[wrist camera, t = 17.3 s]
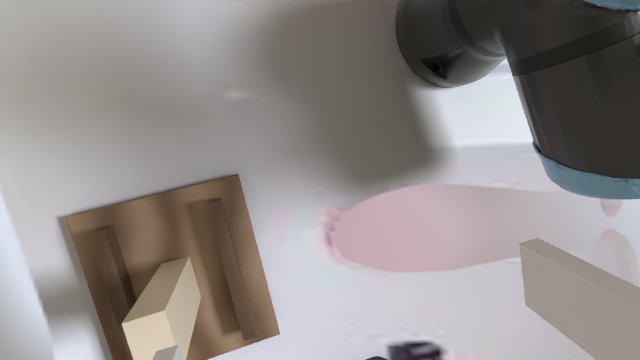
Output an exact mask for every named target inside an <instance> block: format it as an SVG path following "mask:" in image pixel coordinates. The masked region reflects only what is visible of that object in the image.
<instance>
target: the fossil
mask: <svg viewBox="0 0 640 360" xmlns="http://www.w3.org/2000/svg"><path fill="white" fill-rule="evenodd" d="M366 360H387V359H385V358H382V357H377V356H376V357H372V358H369V359H366Z"/></svg>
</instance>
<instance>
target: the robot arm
mask: <svg viewBox="0 0 640 360" xmlns="http://www.w3.org/2000/svg"><path fill="white" fill-rule="evenodd" d="M396 31H397V39H398V43H399V46H400V49H401V52H402V54H403V56H404V58H405V60H406V62H407V63H408V65H409V66H410V67H411V68H412V70H413V71H414V72H415V73H416V74H417V75H418V76H420V77H421V78H422V79H424V80H425V81H427V82H429V83H431V84H434V85H437V86H441V87H458V86H462V85H465V84H469V83H472V82H475V81H477V80H479V79H481V78H482V77H484V76H486V75H487V74H488V73H490V72H491V71H492V70H493V69H494V68H495V67H496V66H497V65H498V64H500V63H501V62H502V61H503V60H504V59H505V58H506V57H507V60H508V63H509V66H510V69H511V72H512V76H513V79H514V82H515V85H516V88H517V91H518V94H519V97H520V100H521V103H522V107H523V110H524V113H525V116H526V119H527V122H528V125H529V128H530V131H531V134H532V138H533V147H534V150H535V151H536V153H537V154H538V155H539V156H540V159H541V161H542V164H543V166H544V169H545V172H546V174H547V175H548V177H549V178H550V179H551V180H552V181H553V182H555V183H556V184H557V185H559V186H560V187H561V188H563V189H565V190H567V191H570V192H572V193H576V194H579V195H583V196H587V197H594V198H602V199H640V0H401V2H400V5H399V8H398V12H397V19H396ZM520 253H521V263H522V273H523V283H524V293H525V303H526V306H528V307H529V308H530V309H531V310H533V311H534V312H535V313H537V314H538V315H539V316H541V317H542V318H543V319H544V320H546V321H547V322H548V323H550V324H551V325H552V326H554V327H555V328H556V329H557V330H559V331H560V332H561V333H563V334H564V335H565V336H567V337H568V338H569V339H571V340H572V341H573V342H574V343H576V344H577V345H578V346H580V347H581V348H582V349H584V350H585V351H586V352H587V353H589V354H590V355H591V356H593V357H594V358H595V359H597V360H640V288H639V287H637V286H635V285H633V284H631V283H629V282H626V281H624V280H622V279H620V278H618V277H616V276H614V275H612V274H610V273H608V272H606V271H604V270H602V269H600V268H598V267H596V266H594V265H592V264H590V263H588V262H585V261H583V260H581V259H579V258H577V257H575V256H573V255H571V254H569V253H567V252H565V251H563V250H561V249H559V248H557V247H554V246H553V245H551V244H548V243H546V242H544V241H542V240H540V239H538V238H536V239H533V240H530V241H526V242H523V243H520ZM153 360H184V358H183V356H182V353H181V350H180V348H179V345H175V346H172V347H169V348H165V349H162V350H158V351H156V353H155V355H154V357H153Z"/></svg>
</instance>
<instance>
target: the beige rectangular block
mask: <svg viewBox="0 0 640 360" xmlns="http://www.w3.org/2000/svg"><path fill="white" fill-rule="evenodd" d="M200 299H201V295H200V291H199V288H198V284H197V281H196V277H195V274H194V270H193V267H192V264H191V260H190V257H189V256H187V257H184V258H180V259H177V260H173V261H170V262H166V263H163V264H161V265H160V267H159V268H158V270H157V271H156V273H155V274H154V276H153V277H152V279H151V280H150V282H149V283H148V285H147V286H146V288H145V289H144V291H143V292H142V294H141V295H140V297H139V298H138V300H137V301H136V303H135V304H134V306H133V307H132V309H131V310H130V312H129V313H128V315H127V316H126V318H125V319H124V321H123V322H122V327H123V330H124V333H125V336H126V339H127V342H128V345H129V348H130V351H131V354H132V357H133V360H153V357H154V355H155V353H156V351H158V350H162V349H165V348H169V347H172V346H175V345H179V348H180V350H181V353H182V356H183V358H184V360H186V357H187V353H188V349H189V345H190V341H191V337H192V332H193V328H194V324H195V320H196V316H197V312H198V308H199V304H200Z"/></svg>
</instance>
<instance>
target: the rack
mask: <svg viewBox="0 0 640 360" xmlns="http://www.w3.org/2000/svg"><path fill="white" fill-rule="evenodd" d="M66 220H67V223H68V226H69V229H70V232H71V235H72V238H73V241H74V244H75V247H76V250H77V253H78V256H79V259H80V262H81V265H82V268H83V271H84V274H85V277H86V280H87V283H88V286H89V289H90V292H91V295H92V298H93V301H94V304H95V307H96V310H97V313H98V316H99V319H100V322H101V325H102V328H103V331H104V334H105V337H106V340H107V343H108V346H109V348H110V351H111V354H112V357H113V360H133V357H132V354H131V351H130V348H129V345H128V342H127V339H126V336H125V333H124V330H123V327H122V322H123V321H124V319H125V318H126V316H127V315H128V313H129V312H130V310H131V309H132V307H133V306H134V304H135V303H136V301H137V300H138V298H139V297H140V295H141V294H142V292H143V291H144V289H145V288H146V286H147V285H148V283H149V282H150V280H151V279H152V277H153V276H154V274H155V273H156V271H157V270H158V268H159V267H160V265H161V264H163V263H166V262H170V261H173V260H177V259H180V258H184V257H187V256H189V257H190V260H191V264H192V267H193V270H194V274H195V277H196V281H197V284H198V288H199V291H200V295H201V299H200V304H199V308H198V312H197V316H196V320H195V324H194V328H193V332H192V337H191V341H190V345H189V349H188V353H187V357H186V360H207V359H210V358H213V357H216V356H218V355H221V354H224V353H227V352H230V351H233V350H236V349H238V348H241V347H244V346H247V345H250V344H253V343H256V342H259V341H261V340H264V339H267V338H270V337H273V336H276V335H279V334H280V332H279V328H278V324H277V320H276V316H275V312H274V309H273V305H272V301H271V297H270V293H269V290H268V286H267V282H266V278H265V274H264V271H263V267H262V263H261V259H260V255H259V252H258V248H257V244H256V240H255V236H254V232H253V229H252V225H251V221H250V217H249V213H248V210H247V206H246V202H245V198H244V194H243V191H242V187H241V183H240V179H239V175H234V176H230V177H226V178H221V179H217V180H213V181H209V182H205V183H201V184H197V185H193V186H189V187H185V188H181V189H177V190H172V191H168V192H164V193H160V194H156V195H152V196H148V197H144V198H140V199H136V200H132V201H128V202H124V203H119V204H115V205H111V206H107V207H103V208H99V209H95V210H91V211H87V212H83V213H79V214H75V215H71V216H69V217H66Z"/></svg>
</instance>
